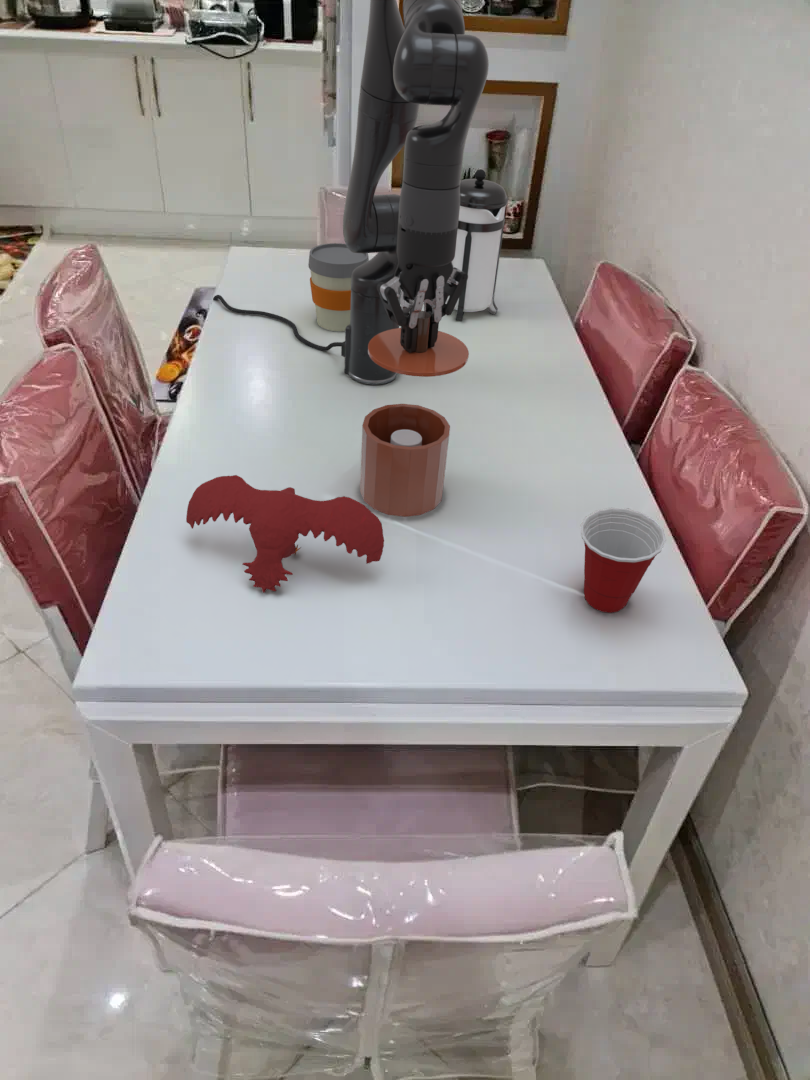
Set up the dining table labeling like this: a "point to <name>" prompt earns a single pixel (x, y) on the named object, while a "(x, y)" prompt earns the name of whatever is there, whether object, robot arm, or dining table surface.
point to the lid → (418, 352)
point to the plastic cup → (617, 555)
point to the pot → (403, 460)
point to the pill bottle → (406, 438)
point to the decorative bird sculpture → (285, 523)
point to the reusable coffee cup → (333, 283)
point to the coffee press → (479, 242)
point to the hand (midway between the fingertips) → (418, 347)
